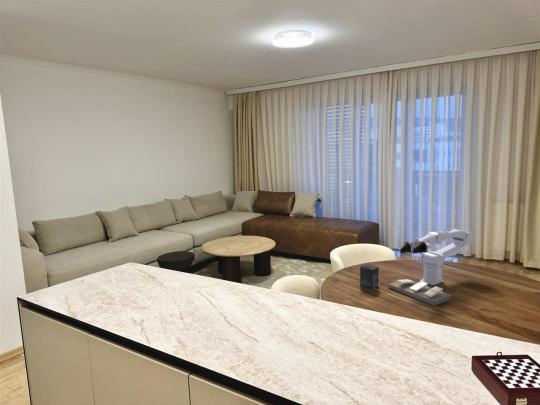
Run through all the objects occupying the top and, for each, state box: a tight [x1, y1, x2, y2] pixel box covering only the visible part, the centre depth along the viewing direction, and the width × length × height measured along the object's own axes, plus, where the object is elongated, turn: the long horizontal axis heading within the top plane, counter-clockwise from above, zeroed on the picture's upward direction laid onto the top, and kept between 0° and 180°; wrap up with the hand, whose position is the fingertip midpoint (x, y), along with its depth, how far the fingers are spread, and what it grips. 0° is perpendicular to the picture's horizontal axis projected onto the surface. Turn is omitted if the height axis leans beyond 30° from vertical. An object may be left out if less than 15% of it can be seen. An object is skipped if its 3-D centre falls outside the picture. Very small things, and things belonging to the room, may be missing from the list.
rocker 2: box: [410, 281, 429, 292], centre depth 178 cm, size 9×4×1 cm, turn 121°
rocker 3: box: [424, 285, 444, 297], centre depth 171 cm, size 9×4×1 cm, turn 121°
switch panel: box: [388, 278, 452, 307], centre depth 178 cm, size 13×26×2 cm, turn 32°
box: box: [359, 263, 379, 289], centre depth 189 cm, size 8×6×11 cm
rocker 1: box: [396, 278, 415, 284], centre depth 185 cm, size 9×4×1 cm, turn 122°
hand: (407, 251), depth 180 cm, fingers open, 7 cm apart
